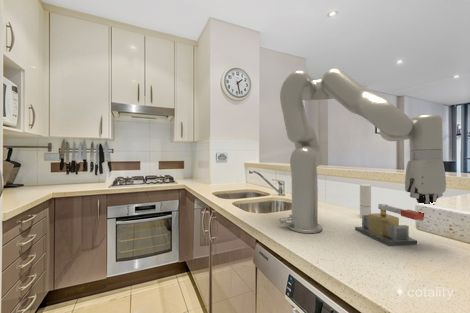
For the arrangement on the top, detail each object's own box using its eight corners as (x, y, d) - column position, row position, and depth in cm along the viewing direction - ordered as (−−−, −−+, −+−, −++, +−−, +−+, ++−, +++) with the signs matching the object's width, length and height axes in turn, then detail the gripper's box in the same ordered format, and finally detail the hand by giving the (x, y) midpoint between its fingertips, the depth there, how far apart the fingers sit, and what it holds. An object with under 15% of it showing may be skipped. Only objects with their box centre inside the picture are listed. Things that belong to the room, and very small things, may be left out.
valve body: (388, 246, 66) (388, 216, 66) (355, 230, 81) (355, 205, 81) (417, 244, 68) (417, 214, 68) (379, 228, 82) (378, 204, 82)
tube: (365, 219, 95) (365, 185, 95) (357, 217, 99) (357, 184, 99) (373, 219, 96) (373, 185, 96) (365, 216, 100) (365, 184, 100)
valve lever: (376, 208, 76) (376, 203, 76) (383, 208, 76) (383, 203, 76) (414, 219, 62) (414, 213, 62) (423, 219, 62) (423, 213, 62)
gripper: (432, 156, 70) (432, 212, 70) (393, 156, 67) (394, 215, 67) (460, 156, 63) (461, 219, 63) (418, 156, 60) (419, 222, 60)
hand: (426, 216), depth 65 cm, fingers closed
